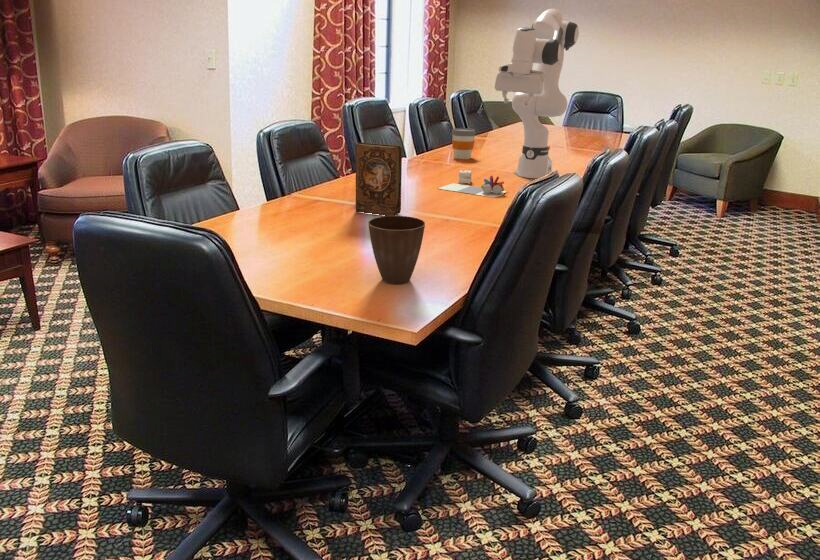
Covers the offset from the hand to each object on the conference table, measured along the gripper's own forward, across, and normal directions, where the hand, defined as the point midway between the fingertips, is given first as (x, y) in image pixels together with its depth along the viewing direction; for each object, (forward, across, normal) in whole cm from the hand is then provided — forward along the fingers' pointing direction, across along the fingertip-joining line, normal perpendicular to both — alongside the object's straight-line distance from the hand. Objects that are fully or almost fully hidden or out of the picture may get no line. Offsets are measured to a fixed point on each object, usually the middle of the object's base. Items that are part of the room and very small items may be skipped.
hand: (516, 104), depth 285 cm
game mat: (+37, +12, +5) cm, 40 cm away
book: (+44, +22, +63) cm, 80 cm away
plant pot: (+48, -23, +119) cm, 131 cm away
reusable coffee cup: (+32, +55, -65) cm, 90 cm away
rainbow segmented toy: (+37, +3, +5) cm, 38 cm away
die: (+36, +23, -7) cm, 44 cm away
